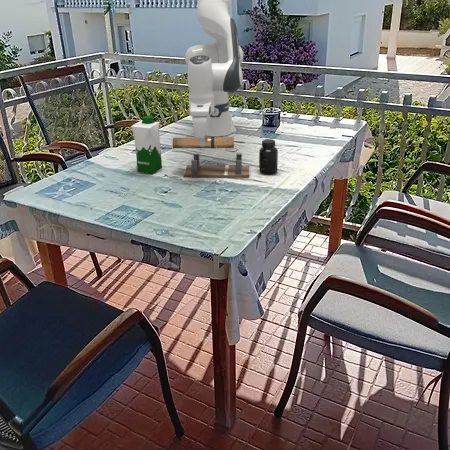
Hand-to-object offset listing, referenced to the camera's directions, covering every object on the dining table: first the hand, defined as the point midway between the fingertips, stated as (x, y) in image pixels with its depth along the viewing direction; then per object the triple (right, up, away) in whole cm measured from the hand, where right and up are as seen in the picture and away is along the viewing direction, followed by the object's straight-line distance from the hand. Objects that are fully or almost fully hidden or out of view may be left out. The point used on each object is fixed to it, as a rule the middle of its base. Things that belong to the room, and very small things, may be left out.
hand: (203, 143), depth 173 cm
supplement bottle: (+24, -10, +5) cm, 26 cm away
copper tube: (0, -2, +1) cm, 2 cm away
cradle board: (+5, -10, +5) cm, 12 cm away
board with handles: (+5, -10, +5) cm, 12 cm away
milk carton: (-21, -9, +9) cm, 24 cm away
